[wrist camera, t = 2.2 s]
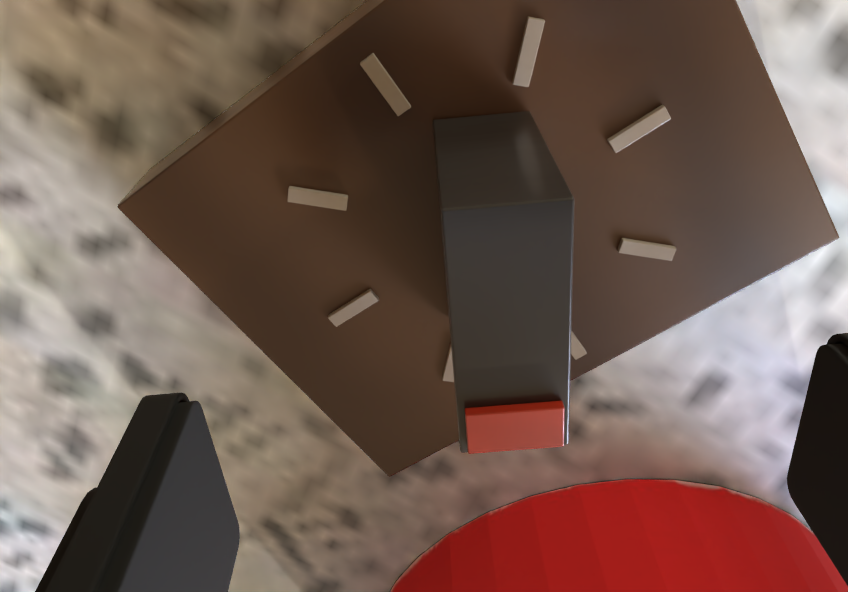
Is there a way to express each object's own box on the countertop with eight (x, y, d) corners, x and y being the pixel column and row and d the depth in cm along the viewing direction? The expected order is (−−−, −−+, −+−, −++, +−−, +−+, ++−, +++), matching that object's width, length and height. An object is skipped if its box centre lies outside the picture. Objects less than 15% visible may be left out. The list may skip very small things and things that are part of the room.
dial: (432, 119, 16) (440, 215, 11) (530, 110, 16) (578, 203, 11) (449, 320, 19) (461, 462, 14) (532, 313, 18) (571, 454, 14)
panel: (614, -191, 15) (650, -204, 13) (794, 199, 20) (844, 241, 17) (148, 169, 19) (113, 209, 17) (391, 423, 24) (389, 481, 21)
